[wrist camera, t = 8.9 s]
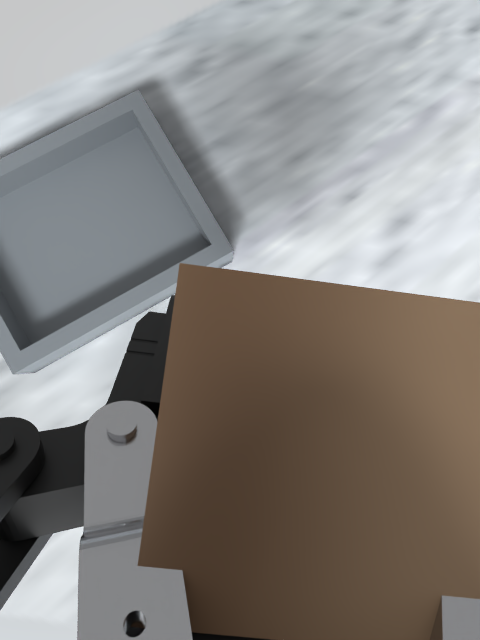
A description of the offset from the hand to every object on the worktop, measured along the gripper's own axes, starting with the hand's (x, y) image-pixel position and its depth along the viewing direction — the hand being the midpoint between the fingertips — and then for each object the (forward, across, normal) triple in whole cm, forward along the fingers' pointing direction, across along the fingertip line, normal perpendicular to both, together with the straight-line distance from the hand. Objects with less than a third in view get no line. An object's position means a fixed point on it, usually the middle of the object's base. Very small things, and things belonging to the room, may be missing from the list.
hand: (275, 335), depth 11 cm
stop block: (+2, 0, +4) cm, 5 cm away
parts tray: (+17, +11, +8) cm, 21 cm away
